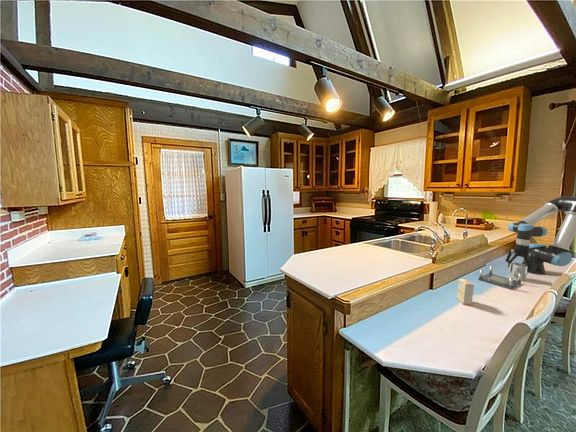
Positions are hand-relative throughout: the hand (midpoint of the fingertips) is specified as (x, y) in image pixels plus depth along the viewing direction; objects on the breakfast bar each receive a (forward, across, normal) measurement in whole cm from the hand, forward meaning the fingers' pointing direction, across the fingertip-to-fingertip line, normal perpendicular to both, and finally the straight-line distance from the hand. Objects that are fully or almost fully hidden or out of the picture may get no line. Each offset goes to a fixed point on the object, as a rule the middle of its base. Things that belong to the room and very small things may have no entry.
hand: (517, 273), depth 184 cm
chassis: (+4, -5, -19) cm, 20 cm away
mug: (+5, 0, 0) cm, 5 cm away
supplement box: (+5, -3, -76) cm, 76 cm away
